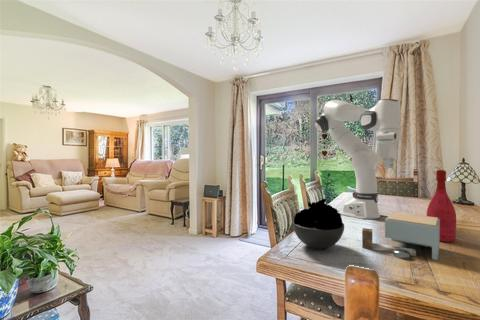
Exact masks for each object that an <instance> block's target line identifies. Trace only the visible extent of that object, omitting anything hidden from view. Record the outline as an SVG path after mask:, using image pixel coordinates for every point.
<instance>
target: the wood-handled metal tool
mask: <svg viewBox="0 0 480 320" xmlns="http://www.w3.org/2000/svg"><path fill="white" fill-rule="evenodd" d="M361 235H362V237H361V242H362V243H361V245H362V248H363V249H369V250H376V251H382V252H388V253H393V250H394V249H403V250H407V251H409V252H410V257H411V256H412V257H413V256H414V257H417V251H416V249H415V248H409V247H402V246H397V245H396V246H395V245H390V244H381V243H377V242H373V229H372V228H365V227H363V228H362V232H361Z"/></svg>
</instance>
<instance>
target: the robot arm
mask: <svg viewBox="0 0 480 320" xmlns="http://www.w3.org/2000/svg"><path fill="white" fill-rule="evenodd" d="M401 119H402V108H401V103H400V101H399V100H398V99H394V98H393V99H392V98H383V99H379V100H378V101H377V103H376V104H375V105H374V106H372V107H370V108H366V107H362V106H359V105H356V104H354V103H351V102H348V101H344V100H341V99H339V100H338V99H331V100H329V101H327V102H326V103H325V104H324V106H323V113H322V114H320V115H319V116H317V118H316V119H315V120H314V126H315V128H316V129H317V130H318V132H320V133H326V132H328V134H329V136H330V137H331V138H332V140H333V141H334V143H336V145H337V146H338V147H339V148H341V150H343V152H344V153H346V154H347V155H349V156H351V164H352V166H353V171H354V175H355V189H356V190H355V191H353V192H352V197H351V198H350V199H348V200H347V201H346V202H344V203H343V206H342V209H340V210H339V211H338V213H340V214H341V216H347V217H351V218H354V219H355V218H357V219H362V220H368V219H371V220H373V219H379V218H381V215H380V212H379V211H380V210H379V205H378V204H379V203H378V202H379V193H378V178H377V177H376V172H375V168H377V166H379V164H380V162H381V159H382V164H383V169H384V170H389V169H391V168H394V165H395V158H397V157H398V150H399V149H398V141H400V140H402V127H401ZM344 122H345V123H346V122H359V126H360V128H361V129H363V131H371V132H373V131H375V132H376V135H375V140H376V141H377V152H378V153H377V152H376V151H374V150H373V149H372V148H371V147H370V146H368V145H367V144H366V143H365V142H363V141H362V140H361V139H359V137H358V136H356V135H355V134H354V133H353V132H352V131H351V130H350V129H349V128H348V127H346V125H345V124H344Z"/></svg>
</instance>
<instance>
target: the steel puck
mask: <svg viewBox="0 0 480 320" xmlns="http://www.w3.org/2000/svg"><path fill="white" fill-rule="evenodd" d="M392 253H393V256H394V258H396V259H400V260H410V259H411V255H410V252H409V251H407V250H403V249H394V250H393V252H392Z"/></svg>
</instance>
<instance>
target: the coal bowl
mask: <svg viewBox="0 0 480 320" xmlns="http://www.w3.org/2000/svg"><path fill="white" fill-rule="evenodd" d="M326 201H327V199H326V198H322V199H320V200H318V201H316V202H315V201H312V202H307V206H308V207H309V208H304V209H303V208H302V209H301V210H299V212H296V213H295V214H294V218H293V220H292V228H293V231H294V234H295V235H296V237H297V239H299V241H300V242H302V243H303V244H304V245H305V246H307V247H309V248H312V249H321V250H323V249H328V248H330V247H333V246H334V245H336V244H337V243H338V242H339V241H340V240H341V238H342V236H343V235H344V231H345V224H344V223H343V219H342V215H341V214H340V213H339V211H338V208H335V207H333V206H331V205H330V204H327V203H326Z"/></svg>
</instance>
